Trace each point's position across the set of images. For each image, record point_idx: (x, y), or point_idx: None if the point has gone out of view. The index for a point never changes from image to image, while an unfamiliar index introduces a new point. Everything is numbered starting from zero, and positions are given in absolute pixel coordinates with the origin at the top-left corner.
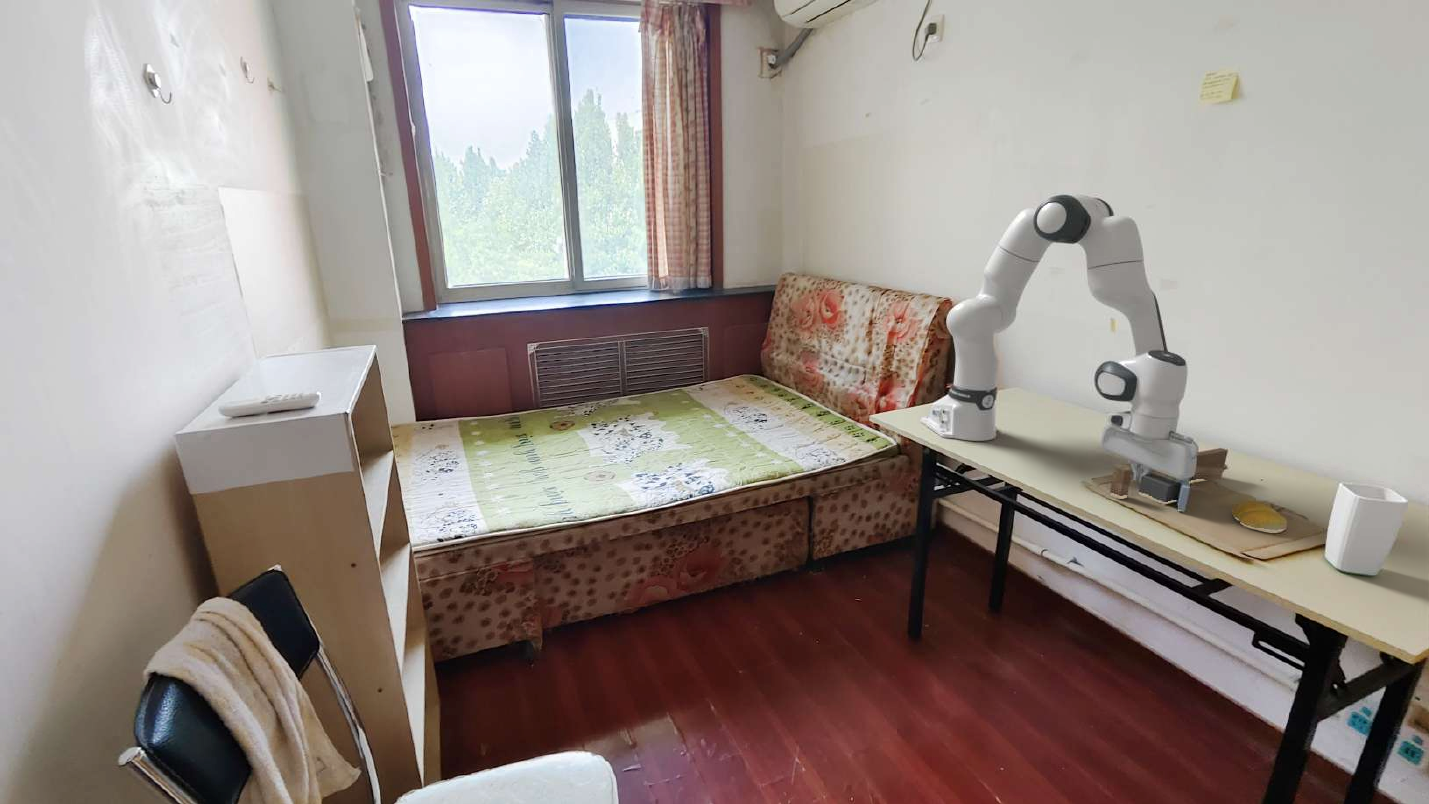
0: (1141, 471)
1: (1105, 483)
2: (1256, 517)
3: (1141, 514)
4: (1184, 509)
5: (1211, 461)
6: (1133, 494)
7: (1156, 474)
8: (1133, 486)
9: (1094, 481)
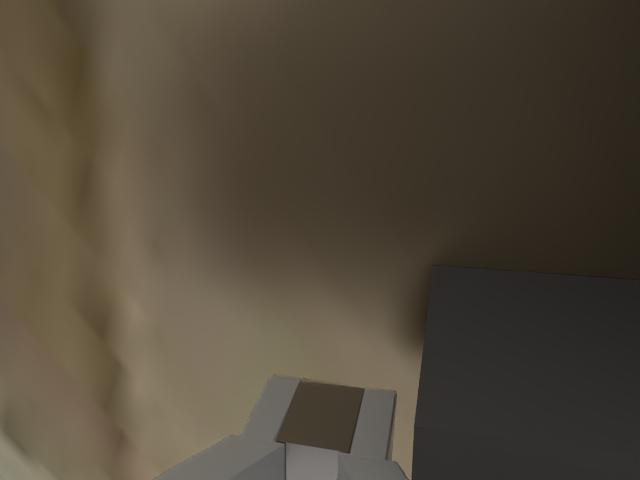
0: (257, 473)
1: (122, 442)
2: None
3: None
4: None
5: None
6: None
7: (481, 447)
8: (260, 291)
9: (64, 474)
